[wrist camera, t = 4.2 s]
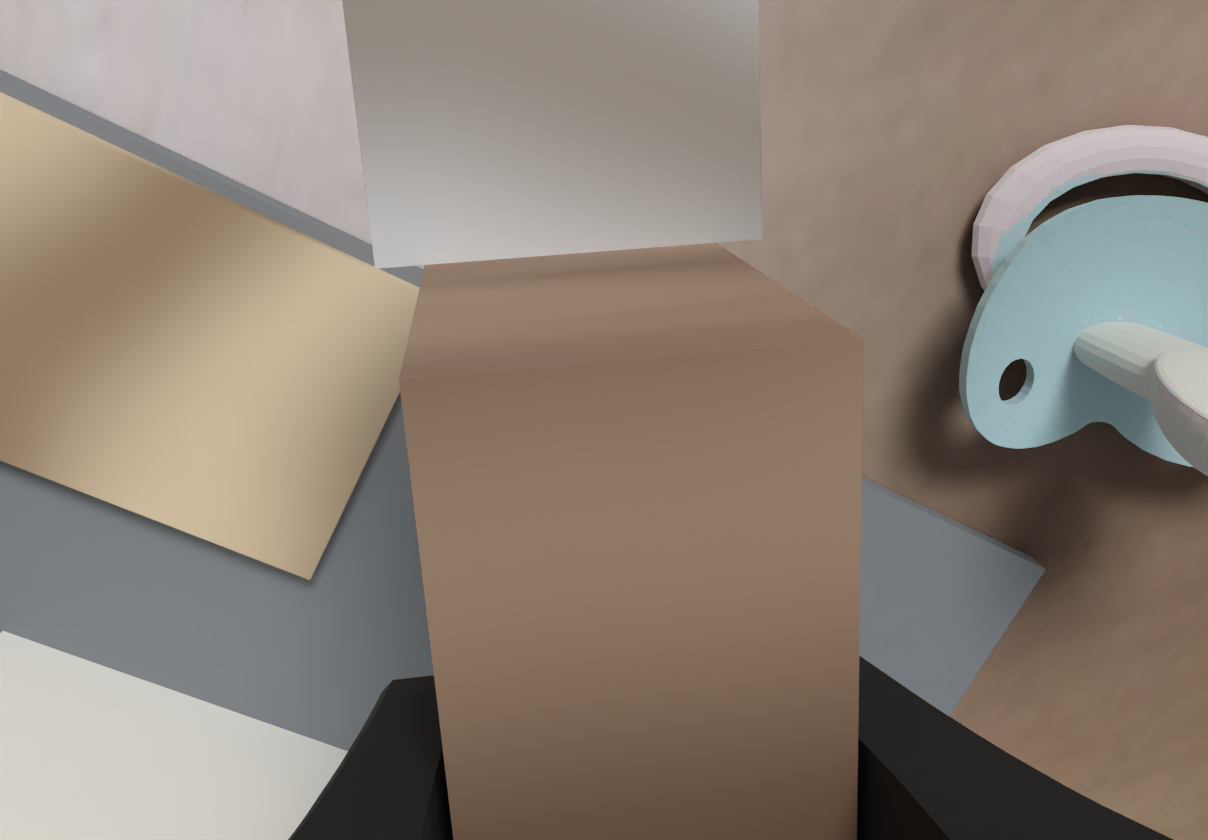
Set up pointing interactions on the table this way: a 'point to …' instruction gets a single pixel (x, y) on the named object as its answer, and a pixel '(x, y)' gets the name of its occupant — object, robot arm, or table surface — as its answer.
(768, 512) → the brown rectangular block
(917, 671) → the mat
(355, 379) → the pad
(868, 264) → the table surface
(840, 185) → the table surface
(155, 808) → the tile
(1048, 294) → the pacifier
